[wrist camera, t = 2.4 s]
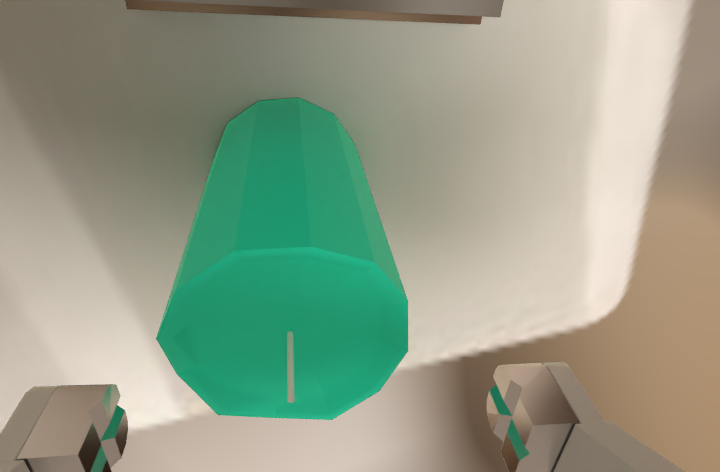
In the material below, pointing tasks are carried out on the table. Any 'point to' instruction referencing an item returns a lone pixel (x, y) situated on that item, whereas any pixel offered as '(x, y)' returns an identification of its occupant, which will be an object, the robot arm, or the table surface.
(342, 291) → the candle
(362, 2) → the holder
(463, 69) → the table surface
